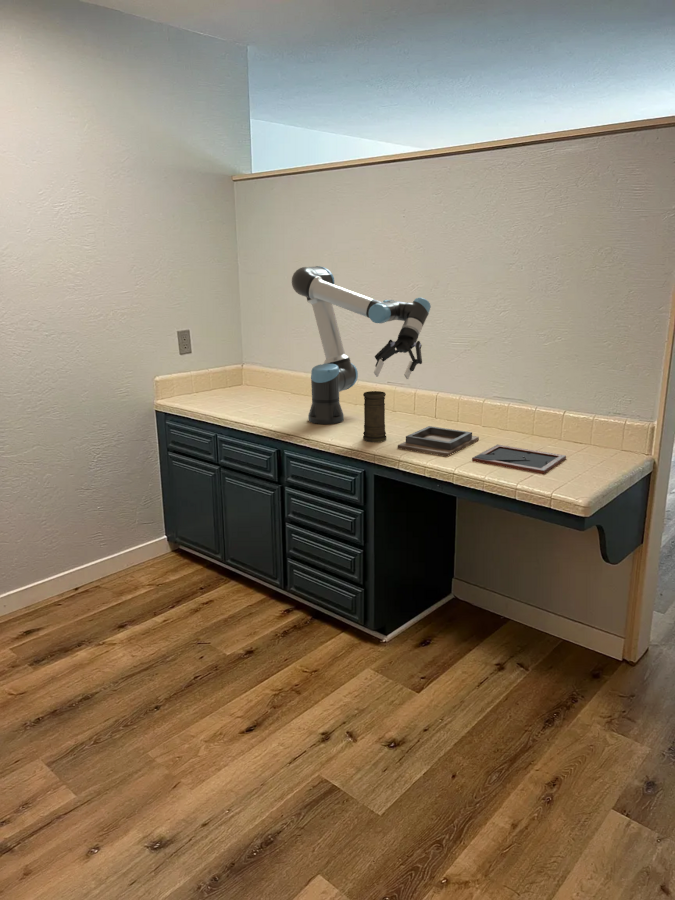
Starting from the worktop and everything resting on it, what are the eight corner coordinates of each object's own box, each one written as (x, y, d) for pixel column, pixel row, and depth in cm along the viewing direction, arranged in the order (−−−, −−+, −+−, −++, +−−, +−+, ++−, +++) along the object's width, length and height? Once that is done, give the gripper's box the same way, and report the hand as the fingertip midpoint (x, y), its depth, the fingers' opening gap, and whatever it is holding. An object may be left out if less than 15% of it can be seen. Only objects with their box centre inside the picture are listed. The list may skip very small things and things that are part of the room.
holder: (431, 432, 265) (431, 423, 264) (478, 439, 254) (479, 430, 253) (397, 448, 245) (397, 438, 244) (447, 456, 234) (447, 446, 233)
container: (384, 442, 252) (384, 395, 247) (361, 441, 254) (360, 395, 249) (387, 436, 261) (388, 390, 256) (364, 435, 263) (364, 390, 258)
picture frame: (471, 462, 229) (543, 475, 214) (472, 457, 228) (544, 469, 214) (497, 449, 244) (565, 460, 229) (497, 443, 244) (566, 454, 229)
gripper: (441, 339, 263) (422, 383, 255) (386, 337, 277) (367, 379, 269) (435, 327, 257) (415, 372, 250) (379, 325, 271) (359, 367, 264)
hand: (390, 375), depth 259 cm, fingers open, 13 cm apart
